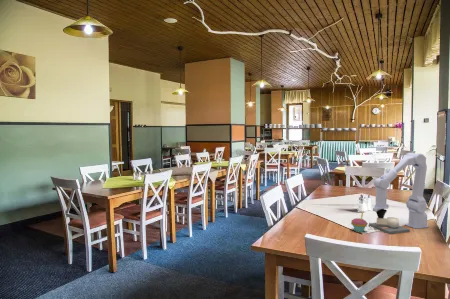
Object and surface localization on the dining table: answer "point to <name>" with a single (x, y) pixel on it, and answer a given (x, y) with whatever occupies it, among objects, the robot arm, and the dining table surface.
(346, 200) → the dining table surface
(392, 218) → the cream ball joystick
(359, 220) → the cupcake
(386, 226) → the post board
